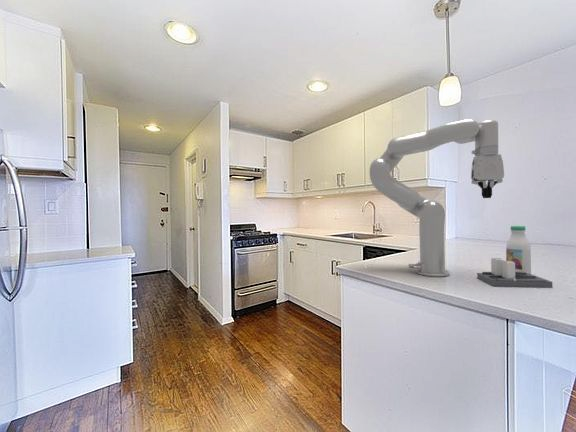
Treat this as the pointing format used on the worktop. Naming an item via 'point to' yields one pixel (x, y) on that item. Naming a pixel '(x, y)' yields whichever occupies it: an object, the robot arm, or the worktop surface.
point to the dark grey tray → (514, 280)
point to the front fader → (508, 269)
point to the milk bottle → (519, 250)
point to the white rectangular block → (496, 266)
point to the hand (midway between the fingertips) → (486, 197)
